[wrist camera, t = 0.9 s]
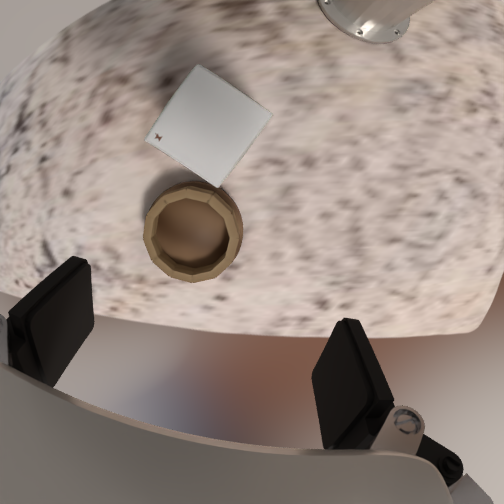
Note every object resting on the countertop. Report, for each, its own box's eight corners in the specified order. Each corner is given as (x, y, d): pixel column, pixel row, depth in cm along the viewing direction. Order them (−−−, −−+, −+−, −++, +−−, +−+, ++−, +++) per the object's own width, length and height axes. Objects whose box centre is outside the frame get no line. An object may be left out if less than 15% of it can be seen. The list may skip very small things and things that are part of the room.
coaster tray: (158, 171, 33) (148, 175, 30) (254, 194, 34) (254, 200, 31) (144, 259, 37) (135, 271, 34) (230, 282, 38) (228, 295, 35)
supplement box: (229, 173, 33) (215, 192, 21) (179, 139, 32) (139, 139, 20) (268, 124, 31) (276, 114, 19) (216, 88, 29) (195, 61, 18)
